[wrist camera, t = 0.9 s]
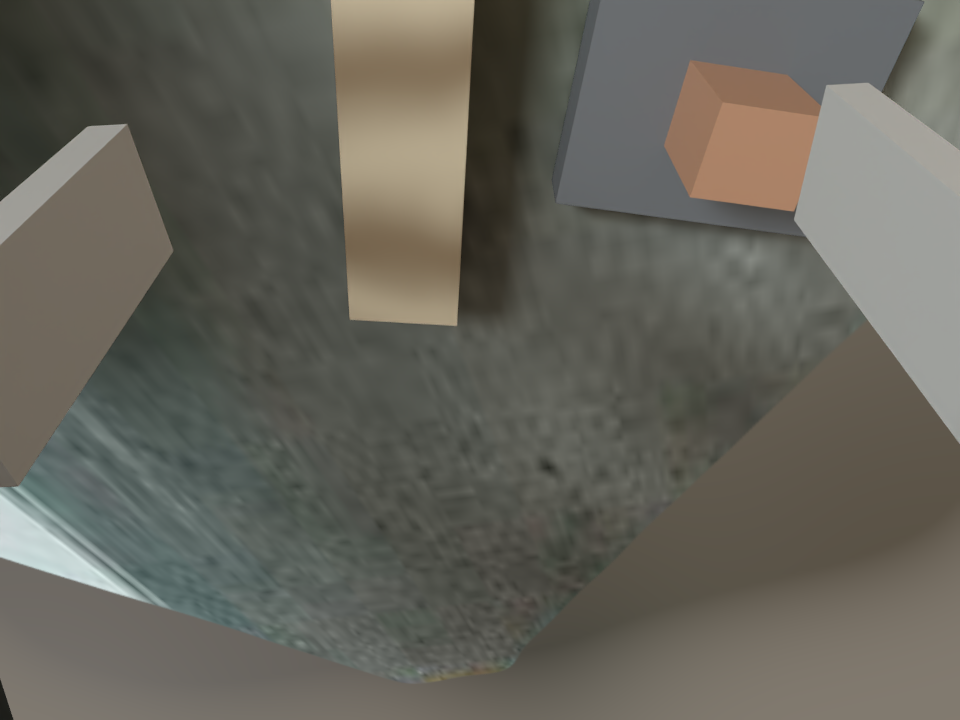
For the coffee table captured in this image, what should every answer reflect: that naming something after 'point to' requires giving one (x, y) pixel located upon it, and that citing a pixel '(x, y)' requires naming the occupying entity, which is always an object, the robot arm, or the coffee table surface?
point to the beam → (403, 153)
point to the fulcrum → (713, 102)
